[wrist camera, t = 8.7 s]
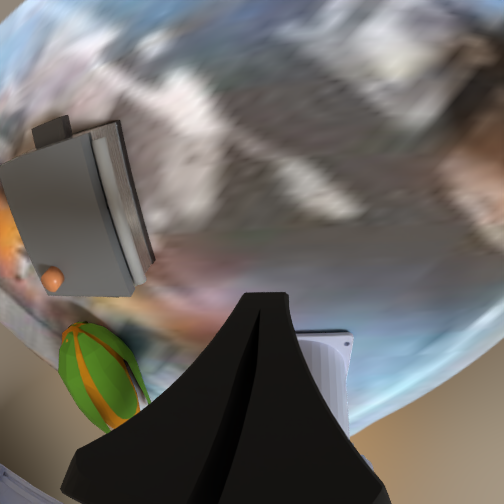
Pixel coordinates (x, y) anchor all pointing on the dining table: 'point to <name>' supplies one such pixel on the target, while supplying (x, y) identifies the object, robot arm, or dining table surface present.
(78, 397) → the corn
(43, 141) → the cooker
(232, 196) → the dining table surface
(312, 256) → the dining table surface
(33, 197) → the lid
